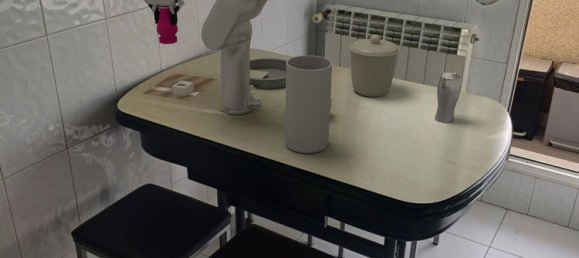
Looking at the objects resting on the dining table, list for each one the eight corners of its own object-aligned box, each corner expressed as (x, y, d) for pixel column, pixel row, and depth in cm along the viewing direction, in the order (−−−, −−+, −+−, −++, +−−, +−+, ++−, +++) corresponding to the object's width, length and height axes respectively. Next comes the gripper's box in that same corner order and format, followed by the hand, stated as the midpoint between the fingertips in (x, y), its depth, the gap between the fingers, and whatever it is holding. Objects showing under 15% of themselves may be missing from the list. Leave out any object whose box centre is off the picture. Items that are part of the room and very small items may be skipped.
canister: (335, 90, 196) (338, 33, 187) (368, 79, 207) (372, 25, 198) (373, 105, 184) (378, 45, 175) (406, 92, 195) (412, 36, 186)
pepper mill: (181, 39, 191) (177, -19, 183) (175, 45, 185) (169, -15, 176) (162, 38, 192) (156, -19, 184) (154, 44, 185) (148, -15, 177)
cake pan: (255, 64, 222) (255, 54, 220) (310, 74, 212) (310, 63, 210) (222, 83, 202) (222, 72, 200) (281, 95, 192) (281, 83, 190)
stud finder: (194, 90, 190) (193, 82, 189) (185, 96, 185) (184, 88, 184) (181, 88, 192) (181, 80, 191) (172, 94, 187) (171, 85, 185)
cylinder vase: (329, 136, 162) (333, 56, 151) (326, 156, 151) (330, 71, 140) (288, 133, 164) (289, 54, 153) (282, 152, 152) (282, 68, 142)
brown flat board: (217, 82, 202) (217, 78, 201) (189, 104, 183) (189, 100, 182) (174, 76, 207) (174, 73, 206) (143, 97, 188) (142, 93, 187)
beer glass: (440, 124, 171) (446, 80, 164) (429, 116, 177) (435, 72, 170) (459, 122, 172) (466, 78, 166) (448, 114, 178) (454, 71, 172)
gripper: (132, -30, 178) (138, 24, 185) (177, -28, 172) (182, 28, 180) (145, -34, 184) (151, 19, 192) (189, -31, 179) (193, 23, 186)
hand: (166, 23), depth 186 cm, fingers closed on pepper mill, 5 cm apart
